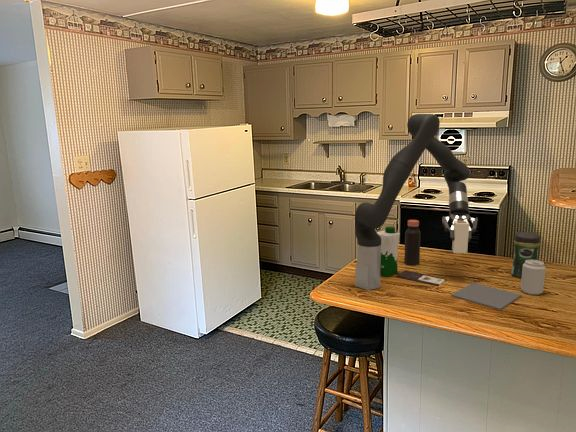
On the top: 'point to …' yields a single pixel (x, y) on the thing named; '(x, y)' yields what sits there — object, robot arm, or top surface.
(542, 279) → the can
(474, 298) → the rubber mat
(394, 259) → the milk carton
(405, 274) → the chocolate bar
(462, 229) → the cream block
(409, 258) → the bottle
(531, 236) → the coffee jar
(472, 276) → the top surface
